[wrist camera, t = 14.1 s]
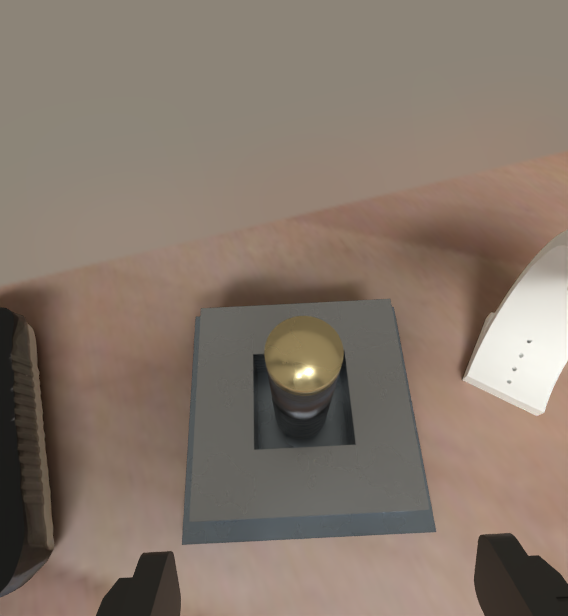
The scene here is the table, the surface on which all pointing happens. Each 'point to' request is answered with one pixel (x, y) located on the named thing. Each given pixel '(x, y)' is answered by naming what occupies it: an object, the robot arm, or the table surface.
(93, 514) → the table surface
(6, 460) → the black sponge
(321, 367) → the brass pin
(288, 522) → the square hole socket
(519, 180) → the table surface
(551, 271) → the headphone stand
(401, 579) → the table surface
